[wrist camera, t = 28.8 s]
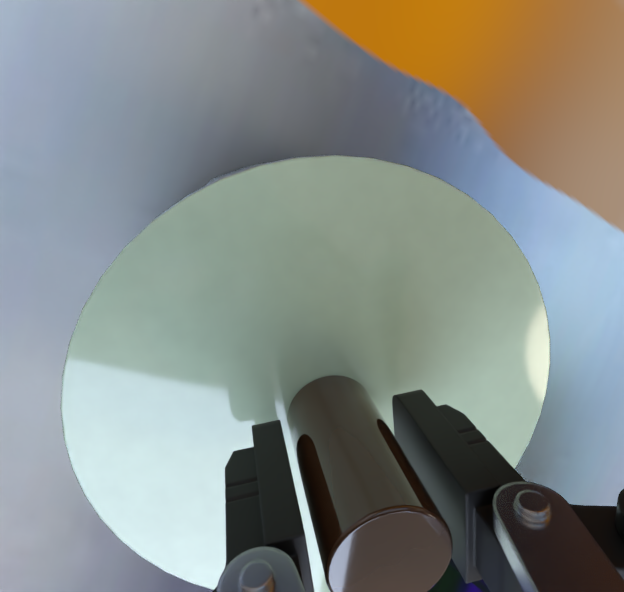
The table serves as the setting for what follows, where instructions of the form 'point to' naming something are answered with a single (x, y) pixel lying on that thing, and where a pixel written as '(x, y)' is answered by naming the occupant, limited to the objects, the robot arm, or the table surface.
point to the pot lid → (301, 362)
